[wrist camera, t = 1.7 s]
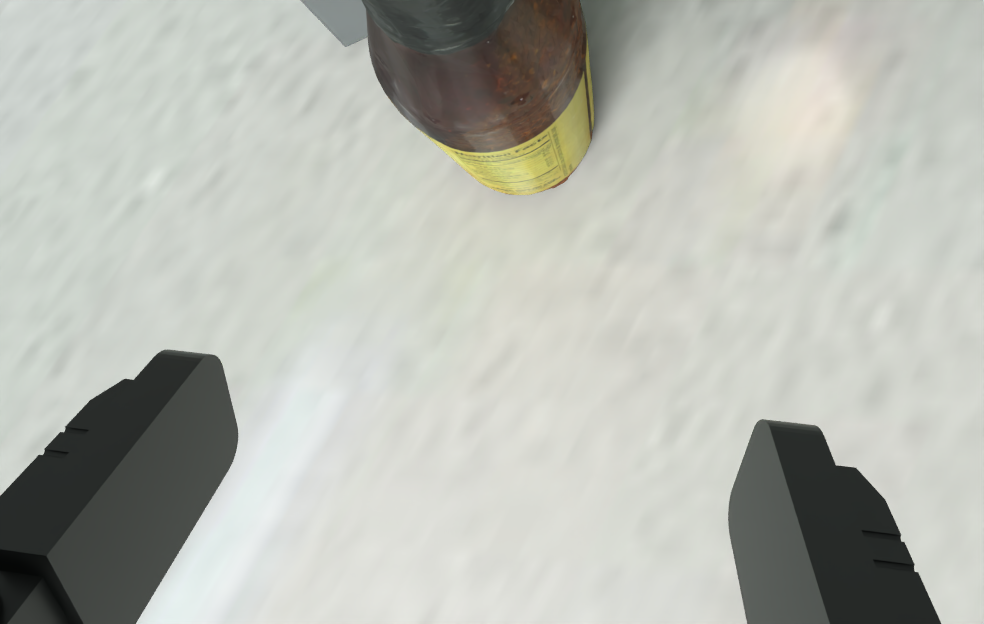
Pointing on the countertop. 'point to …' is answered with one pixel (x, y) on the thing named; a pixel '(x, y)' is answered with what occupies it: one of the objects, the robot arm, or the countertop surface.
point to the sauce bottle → (490, 83)
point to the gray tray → (341, 18)
